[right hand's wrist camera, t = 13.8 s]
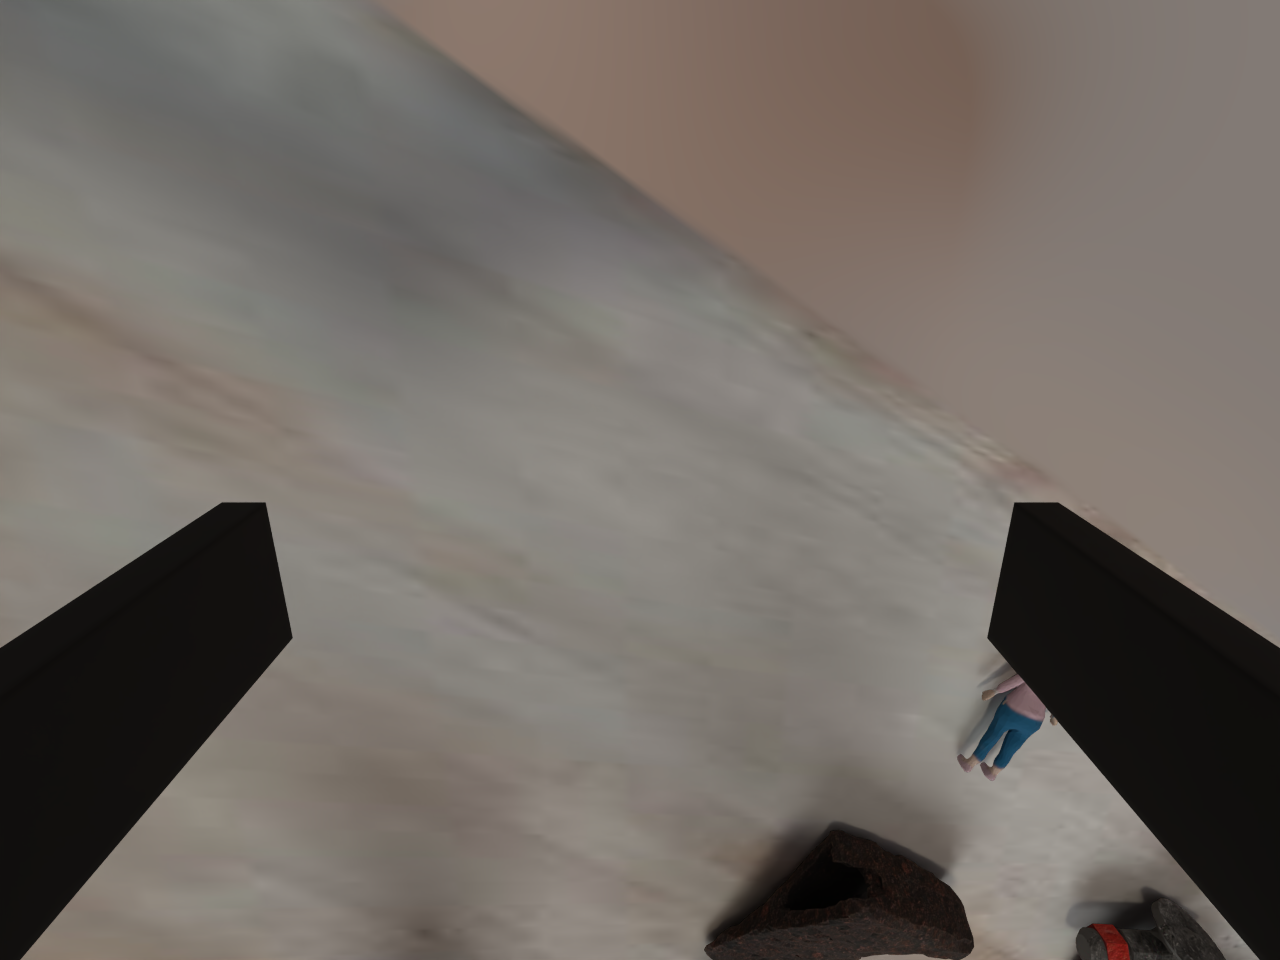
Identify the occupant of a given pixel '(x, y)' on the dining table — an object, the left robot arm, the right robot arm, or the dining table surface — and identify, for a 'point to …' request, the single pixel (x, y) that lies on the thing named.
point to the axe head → (851, 910)
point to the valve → (1150, 939)
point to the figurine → (1008, 725)
